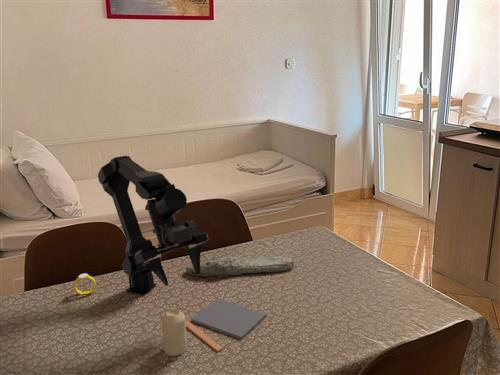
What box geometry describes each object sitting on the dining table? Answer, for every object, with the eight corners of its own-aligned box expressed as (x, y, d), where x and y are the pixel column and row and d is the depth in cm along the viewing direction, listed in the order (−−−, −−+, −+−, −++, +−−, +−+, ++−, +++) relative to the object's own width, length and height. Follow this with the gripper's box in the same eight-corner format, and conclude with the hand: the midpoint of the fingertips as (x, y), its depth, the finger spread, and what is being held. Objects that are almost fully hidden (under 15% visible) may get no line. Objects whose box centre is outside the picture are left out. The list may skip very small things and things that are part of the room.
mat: (191, 321, 126) (190, 318, 126) (217, 300, 136) (217, 298, 135) (241, 339, 118) (241, 336, 117) (266, 316, 127) (266, 314, 127)
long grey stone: (297, 277, 152) (290, 265, 161) (297, 262, 150) (291, 250, 160) (185, 280, 147) (186, 267, 157) (185, 264, 146) (186, 252, 156)
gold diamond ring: (75, 297, 140) (71, 279, 138) (76, 293, 142) (72, 275, 140) (97, 293, 141) (93, 275, 139) (97, 289, 143) (93, 271, 142)
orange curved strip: (177, 320, 126) (177, 318, 126) (182, 318, 127) (182, 316, 127) (217, 352, 113) (217, 350, 113) (222, 349, 114) (222, 347, 114)
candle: (182, 357, 111) (180, 320, 109) (160, 354, 113) (157, 317, 110) (190, 343, 117) (187, 307, 114) (168, 341, 118) (166, 305, 115)
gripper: (141, 222, 110) (162, 286, 108) (208, 204, 121) (228, 262, 119) (125, 233, 119) (145, 293, 117) (189, 215, 130) (208, 270, 128)
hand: (183, 279), depth 120 cm, fingers open, 9 cm apart
